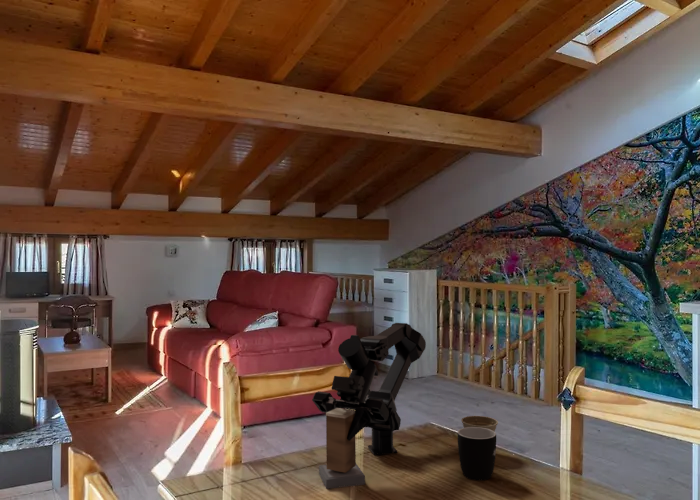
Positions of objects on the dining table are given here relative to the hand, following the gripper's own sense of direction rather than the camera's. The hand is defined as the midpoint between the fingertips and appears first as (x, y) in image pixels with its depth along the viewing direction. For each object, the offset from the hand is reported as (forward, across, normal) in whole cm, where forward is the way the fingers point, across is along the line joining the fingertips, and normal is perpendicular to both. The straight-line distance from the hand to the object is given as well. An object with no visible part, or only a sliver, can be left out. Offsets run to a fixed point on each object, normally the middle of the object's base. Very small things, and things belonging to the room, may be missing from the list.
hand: (338, 438), depth 133 cm
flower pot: (-16, +24, +31) cm, 42 cm away
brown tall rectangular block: (+4, 0, +6) cm, 7 cm away
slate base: (+6, 0, +8) cm, 10 cm away
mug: (-6, +27, +21) cm, 35 cm away
